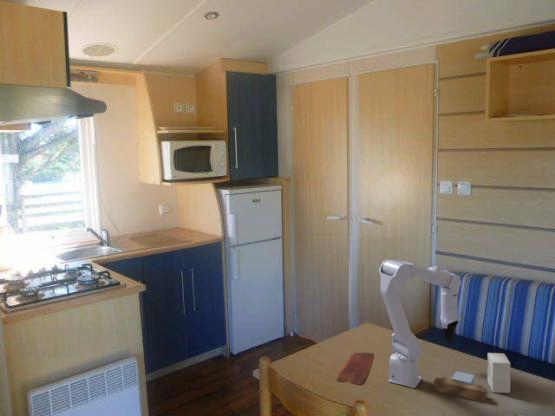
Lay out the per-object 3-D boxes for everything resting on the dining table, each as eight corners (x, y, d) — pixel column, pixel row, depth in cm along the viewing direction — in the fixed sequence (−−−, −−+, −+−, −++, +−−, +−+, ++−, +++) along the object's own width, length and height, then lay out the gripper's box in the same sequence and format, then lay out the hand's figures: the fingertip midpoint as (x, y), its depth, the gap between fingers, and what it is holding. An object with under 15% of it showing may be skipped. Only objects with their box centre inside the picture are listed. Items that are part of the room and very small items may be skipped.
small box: (510, 393, 161) (510, 363, 160) (492, 392, 162) (492, 362, 161) (504, 381, 169) (504, 352, 168) (487, 381, 170) (487, 352, 169)
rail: (434, 390, 166) (434, 380, 165) (437, 385, 169) (437, 375, 168) (484, 402, 157) (484, 392, 156) (487, 396, 160) (487, 386, 160)
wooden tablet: (363, 387, 171) (363, 382, 171) (335, 383, 175) (335, 378, 175) (377, 355, 196) (377, 351, 196) (352, 352, 200) (352, 348, 199)
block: (451, 391, 165) (451, 378, 164) (456, 383, 170) (456, 371, 169) (470, 395, 162) (470, 382, 161) (474, 387, 167) (474, 375, 166)
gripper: (455, 312, 170) (455, 350, 172) (465, 300, 182) (465, 335, 184) (434, 309, 174) (435, 346, 176) (445, 298, 186) (446, 332, 188)
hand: (449, 340), depth 180 cm, fingers closed
